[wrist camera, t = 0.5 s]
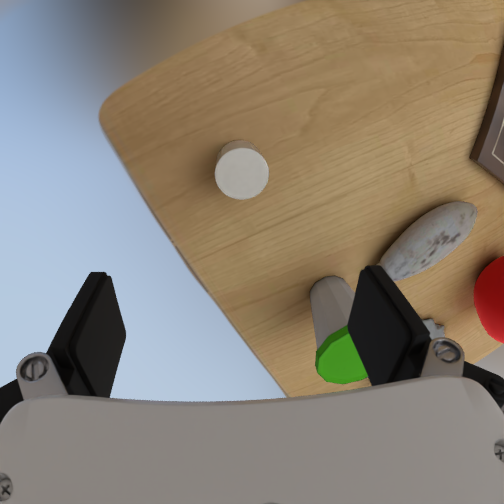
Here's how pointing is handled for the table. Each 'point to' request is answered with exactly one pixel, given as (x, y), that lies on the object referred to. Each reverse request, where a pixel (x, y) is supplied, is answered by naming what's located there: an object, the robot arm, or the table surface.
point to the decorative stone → (429, 240)
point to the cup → (334, 332)
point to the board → (493, 131)
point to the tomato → (491, 298)
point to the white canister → (241, 170)
